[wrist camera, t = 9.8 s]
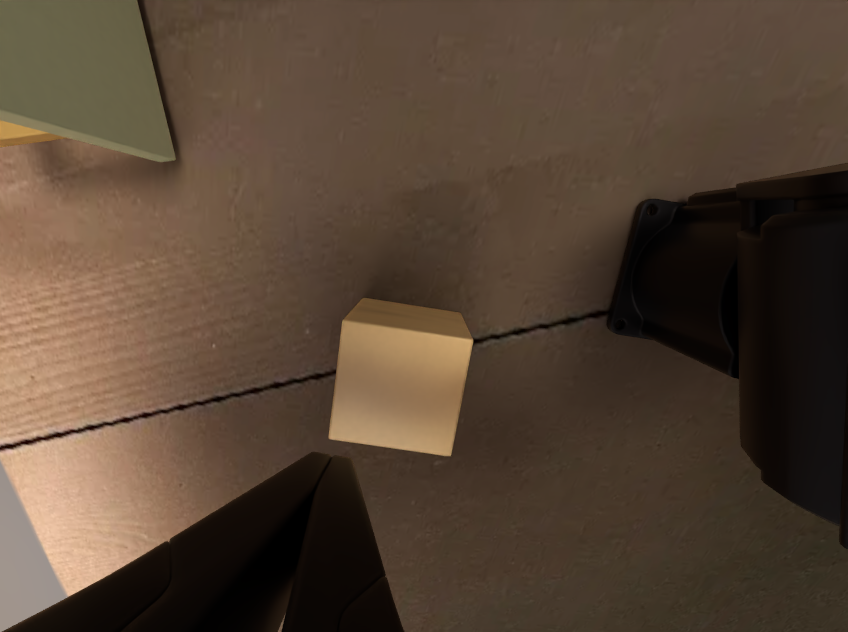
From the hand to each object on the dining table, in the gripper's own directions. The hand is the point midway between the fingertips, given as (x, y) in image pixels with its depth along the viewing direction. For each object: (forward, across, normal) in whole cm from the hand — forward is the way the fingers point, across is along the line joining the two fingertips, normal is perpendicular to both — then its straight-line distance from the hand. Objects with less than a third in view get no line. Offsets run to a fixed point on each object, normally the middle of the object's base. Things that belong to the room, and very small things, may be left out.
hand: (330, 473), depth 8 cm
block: (+12, -1, +1) cm, 12 cm away
